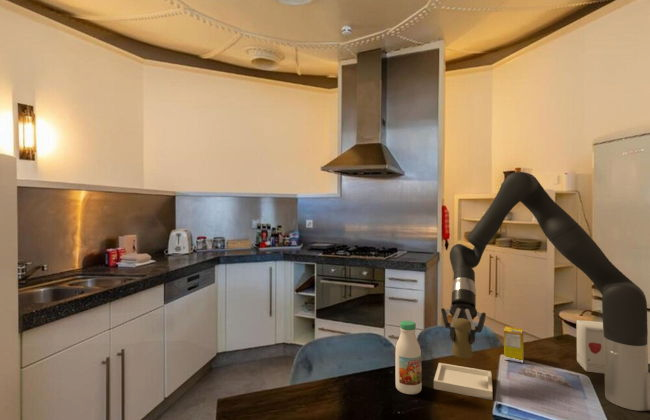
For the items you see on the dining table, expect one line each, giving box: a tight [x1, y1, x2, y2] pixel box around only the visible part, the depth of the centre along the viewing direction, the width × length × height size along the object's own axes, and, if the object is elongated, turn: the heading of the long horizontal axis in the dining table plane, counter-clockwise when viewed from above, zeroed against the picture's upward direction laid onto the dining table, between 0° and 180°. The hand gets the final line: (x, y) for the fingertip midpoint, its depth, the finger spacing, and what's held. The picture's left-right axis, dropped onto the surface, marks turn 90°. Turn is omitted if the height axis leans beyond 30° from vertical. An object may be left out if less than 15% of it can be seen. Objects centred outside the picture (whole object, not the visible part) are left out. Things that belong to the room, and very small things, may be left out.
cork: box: [451, 318, 474, 359], centre depth 107 cm, size 6×6×11 cm
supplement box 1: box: [503, 326, 525, 361], centre depth 124 cm, size 6×6×11 cm
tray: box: [433, 362, 493, 401], centre depth 106 cm, size 16×14×2 cm
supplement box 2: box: [576, 319, 605, 375], centre depth 116 cm, size 9×9×15 cm
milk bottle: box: [394, 320, 423, 395], centre depth 104 cm, size 8×8×20 cm
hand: (462, 341), depth 105 cm, fingers closed on cork, 4 cm apart
